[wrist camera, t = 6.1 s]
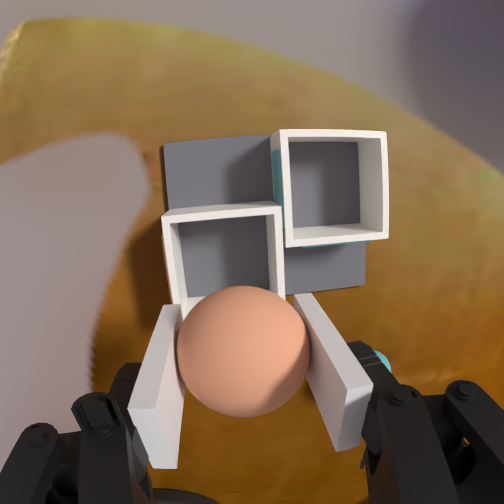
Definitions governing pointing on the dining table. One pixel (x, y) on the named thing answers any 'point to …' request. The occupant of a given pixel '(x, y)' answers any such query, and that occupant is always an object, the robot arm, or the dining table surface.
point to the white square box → (217, 212)
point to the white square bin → (371, 187)
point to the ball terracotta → (243, 351)
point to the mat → (254, 227)
